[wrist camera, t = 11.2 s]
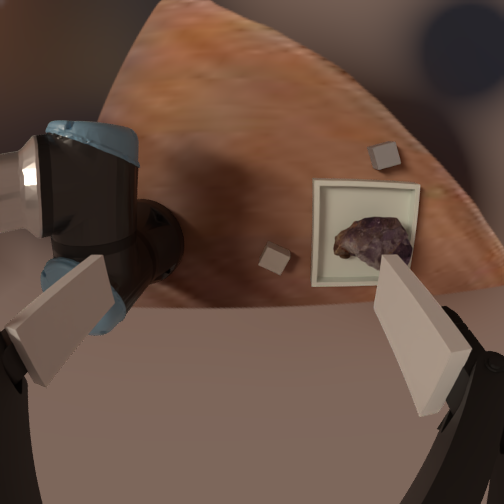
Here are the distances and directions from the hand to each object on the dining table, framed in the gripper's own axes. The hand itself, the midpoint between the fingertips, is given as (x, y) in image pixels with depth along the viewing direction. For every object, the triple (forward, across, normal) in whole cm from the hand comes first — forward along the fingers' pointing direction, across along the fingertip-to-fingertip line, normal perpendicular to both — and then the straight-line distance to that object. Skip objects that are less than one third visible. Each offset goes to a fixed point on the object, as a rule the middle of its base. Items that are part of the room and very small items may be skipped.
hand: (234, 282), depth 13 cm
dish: (+34, +16, -9) cm, 39 cm away
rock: (+34, +17, -9) cm, 39 cm away
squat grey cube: (+35, +18, +4) cm, 40 cm away
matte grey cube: (+35, +1, -13) cm, 37 cm away
